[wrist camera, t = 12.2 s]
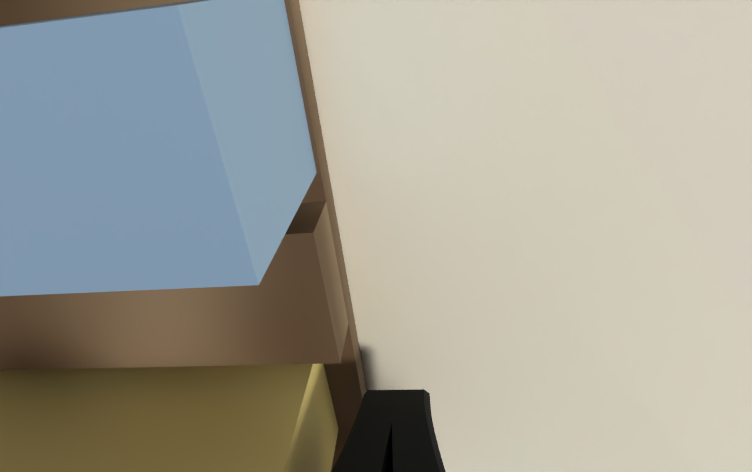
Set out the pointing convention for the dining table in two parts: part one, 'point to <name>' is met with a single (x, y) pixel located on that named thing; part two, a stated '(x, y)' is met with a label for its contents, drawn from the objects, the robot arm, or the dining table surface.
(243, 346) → the comb board
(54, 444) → the stick ochre
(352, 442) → the robot arm
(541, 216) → the dining table surface
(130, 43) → the stick blue
